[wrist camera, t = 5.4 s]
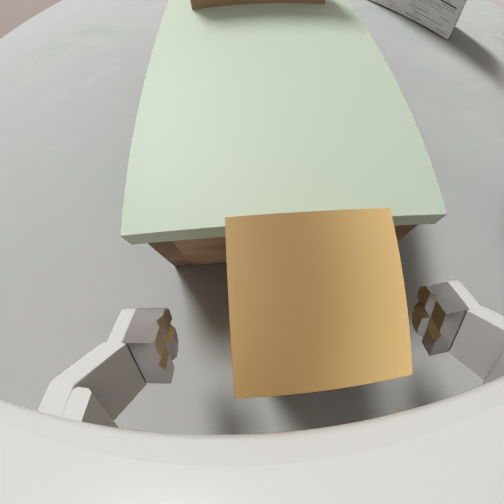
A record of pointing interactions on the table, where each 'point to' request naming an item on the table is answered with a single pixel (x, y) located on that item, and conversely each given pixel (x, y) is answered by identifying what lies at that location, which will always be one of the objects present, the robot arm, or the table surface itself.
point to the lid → (270, 122)
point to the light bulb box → (429, 13)
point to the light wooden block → (315, 301)
